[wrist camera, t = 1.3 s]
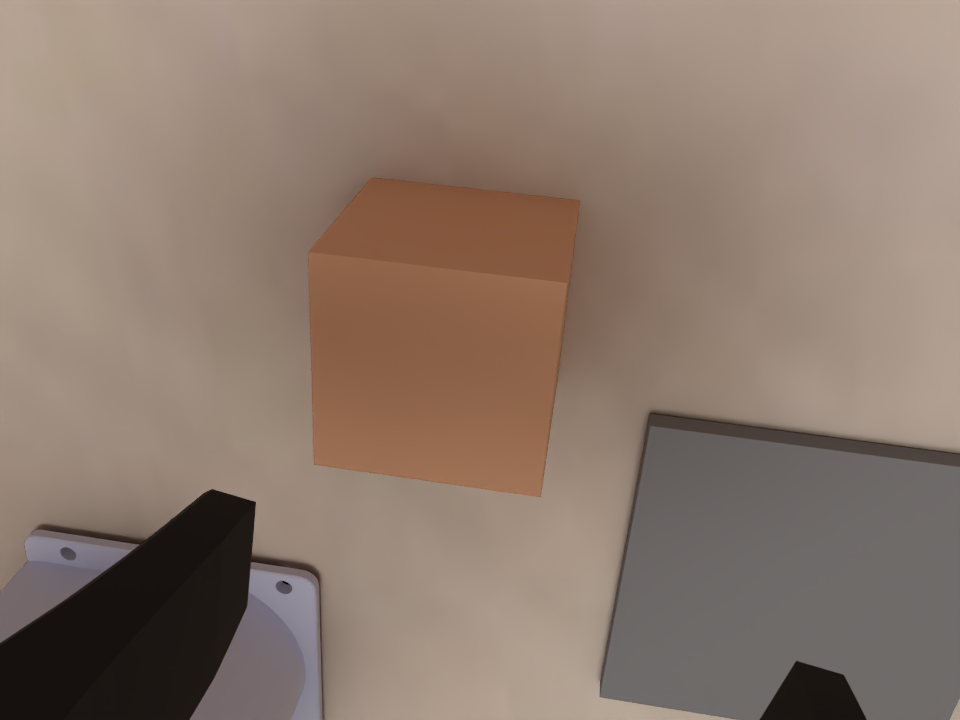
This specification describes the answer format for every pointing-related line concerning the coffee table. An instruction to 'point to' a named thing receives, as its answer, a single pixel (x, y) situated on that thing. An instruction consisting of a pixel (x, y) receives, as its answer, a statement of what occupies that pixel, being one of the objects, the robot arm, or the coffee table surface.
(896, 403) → the coffee table surface
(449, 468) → the cube
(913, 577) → the mat
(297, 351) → the coffee table surface
